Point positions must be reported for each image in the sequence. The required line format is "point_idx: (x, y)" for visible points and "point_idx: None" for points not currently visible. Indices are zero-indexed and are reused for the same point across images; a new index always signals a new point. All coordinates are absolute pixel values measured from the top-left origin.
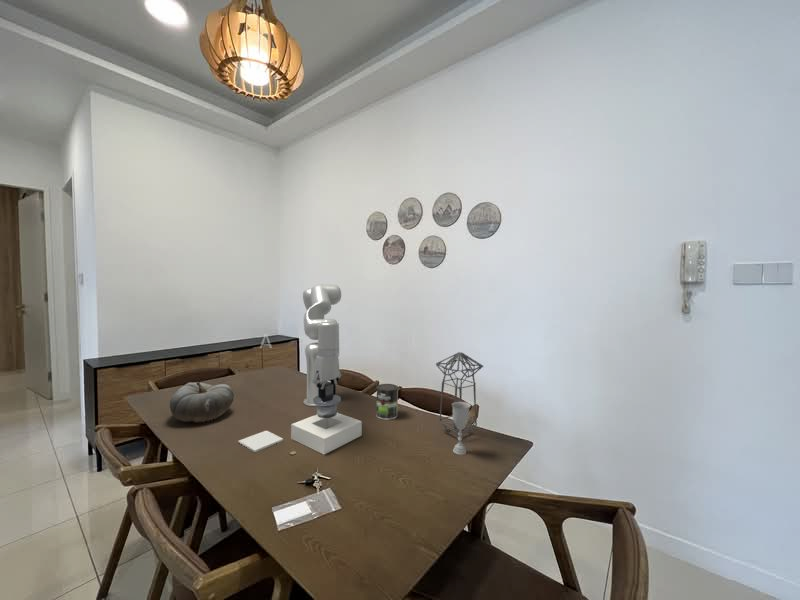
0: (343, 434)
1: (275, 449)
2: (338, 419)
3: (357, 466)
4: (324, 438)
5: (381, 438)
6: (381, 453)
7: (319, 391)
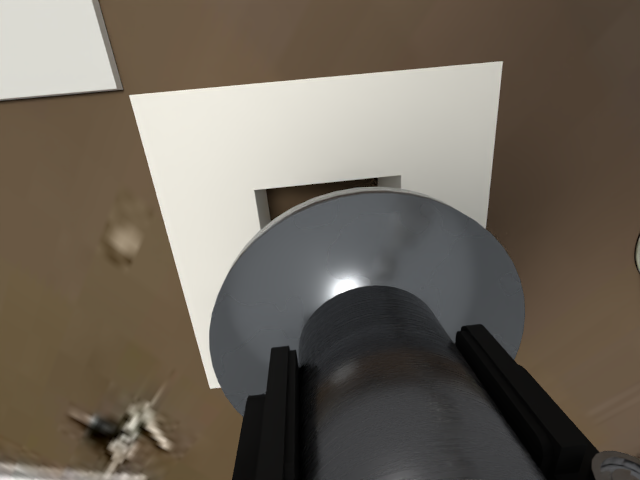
0: None
1: (56, 154)
2: None
3: None
4: (211, 387)
5: None
6: None
7: (242, 475)
